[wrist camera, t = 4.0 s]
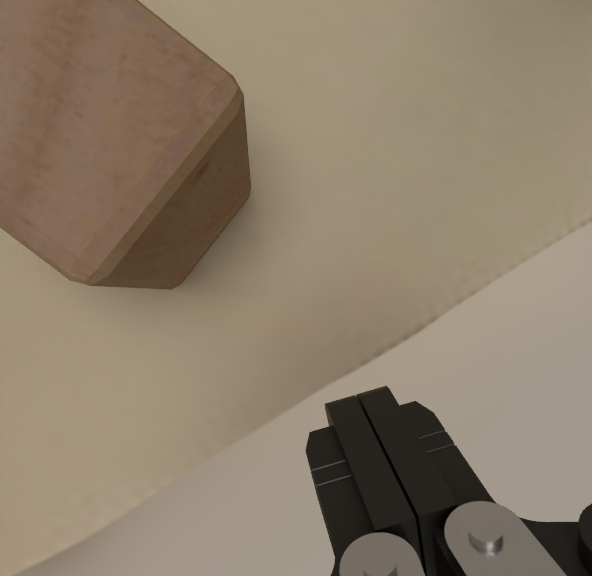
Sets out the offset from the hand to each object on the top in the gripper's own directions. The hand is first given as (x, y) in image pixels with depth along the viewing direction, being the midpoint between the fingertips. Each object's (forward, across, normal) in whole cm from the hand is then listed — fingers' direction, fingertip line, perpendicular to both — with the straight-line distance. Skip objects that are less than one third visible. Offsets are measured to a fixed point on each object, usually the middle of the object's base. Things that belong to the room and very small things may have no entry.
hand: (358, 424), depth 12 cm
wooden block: (+30, +6, +1) cm, 31 cm away
